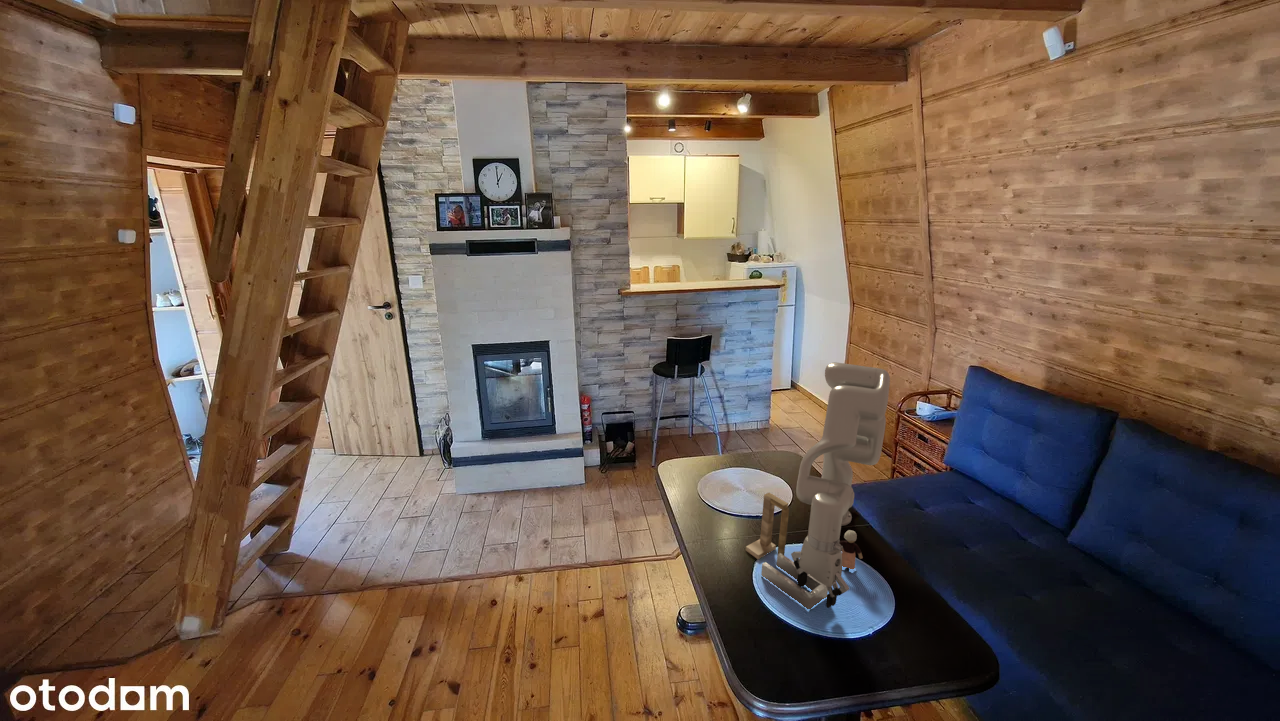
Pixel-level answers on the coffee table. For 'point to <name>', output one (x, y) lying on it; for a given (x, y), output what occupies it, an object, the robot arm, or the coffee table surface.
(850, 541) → the grandmother figurine
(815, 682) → the coffee table surface
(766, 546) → the pin stand
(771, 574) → the steel C-link
